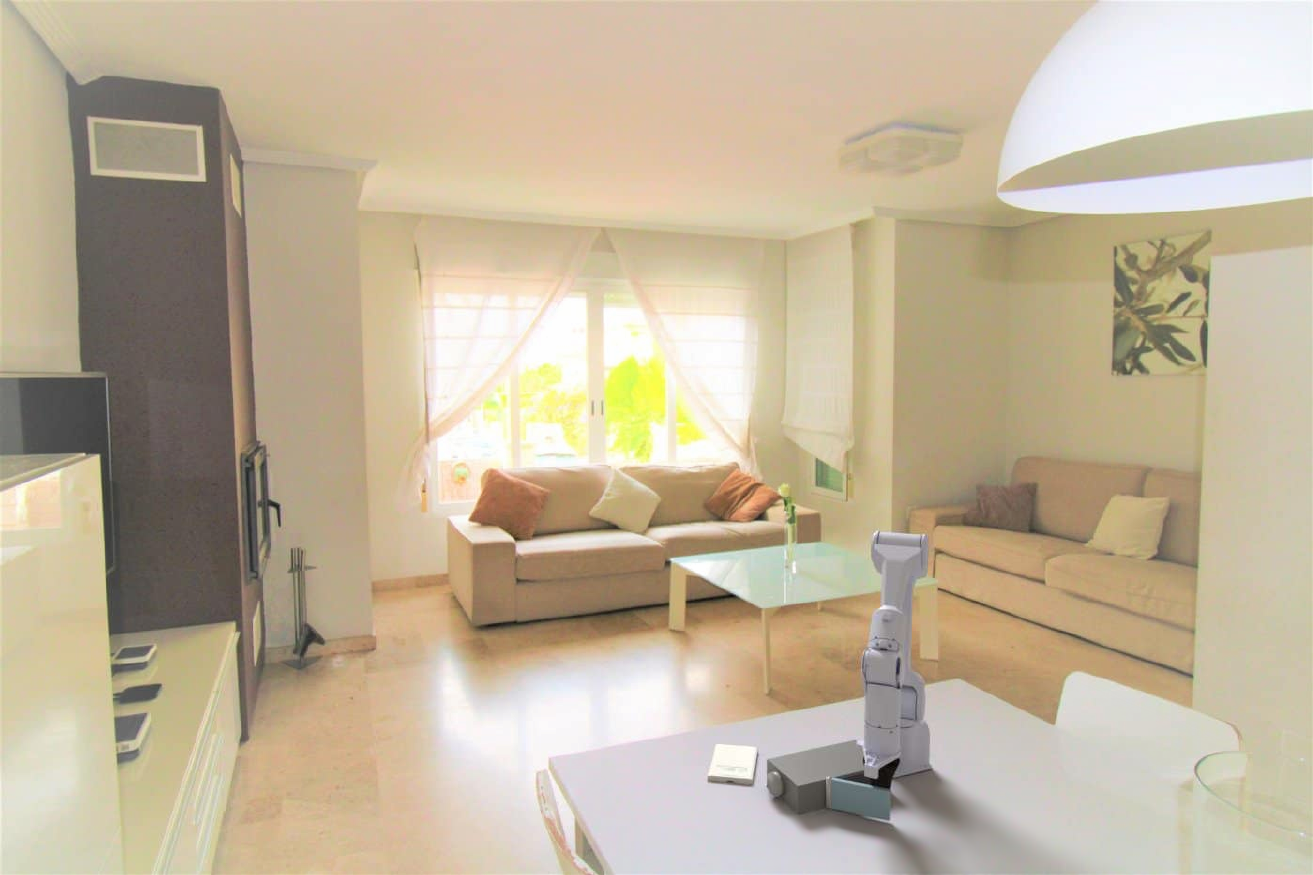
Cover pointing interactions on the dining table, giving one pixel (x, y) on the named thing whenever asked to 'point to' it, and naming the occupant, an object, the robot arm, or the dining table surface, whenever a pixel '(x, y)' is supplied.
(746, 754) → the external hard drive
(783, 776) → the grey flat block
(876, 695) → the robot arm
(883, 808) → the side door
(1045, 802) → the dining table surface
